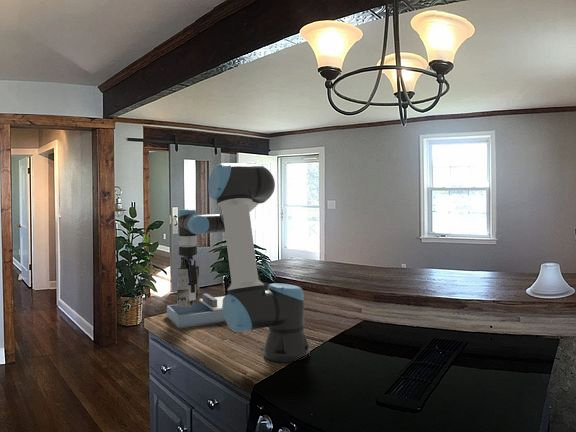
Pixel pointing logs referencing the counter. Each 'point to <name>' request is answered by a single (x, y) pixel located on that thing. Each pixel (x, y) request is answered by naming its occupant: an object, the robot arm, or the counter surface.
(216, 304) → the lid
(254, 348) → the counter surface
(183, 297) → the coffee box
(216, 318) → the blue tray
